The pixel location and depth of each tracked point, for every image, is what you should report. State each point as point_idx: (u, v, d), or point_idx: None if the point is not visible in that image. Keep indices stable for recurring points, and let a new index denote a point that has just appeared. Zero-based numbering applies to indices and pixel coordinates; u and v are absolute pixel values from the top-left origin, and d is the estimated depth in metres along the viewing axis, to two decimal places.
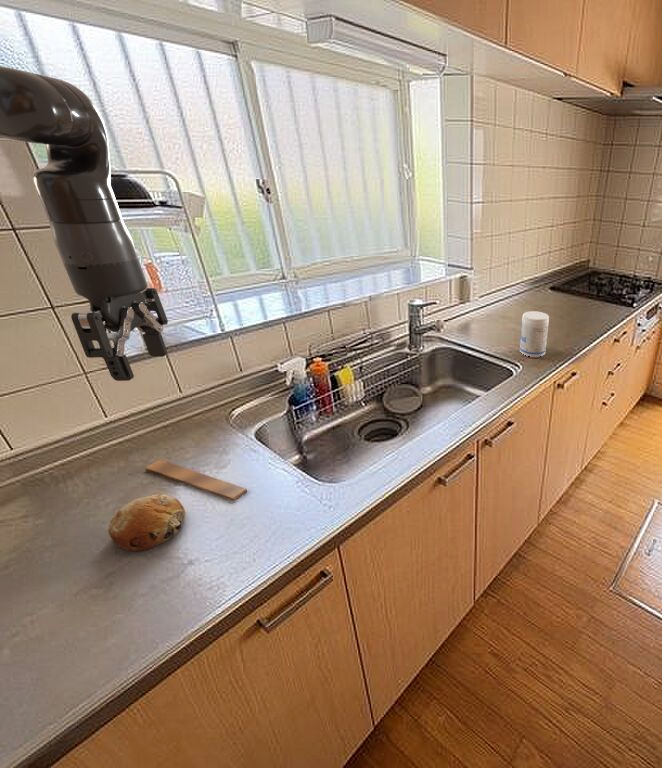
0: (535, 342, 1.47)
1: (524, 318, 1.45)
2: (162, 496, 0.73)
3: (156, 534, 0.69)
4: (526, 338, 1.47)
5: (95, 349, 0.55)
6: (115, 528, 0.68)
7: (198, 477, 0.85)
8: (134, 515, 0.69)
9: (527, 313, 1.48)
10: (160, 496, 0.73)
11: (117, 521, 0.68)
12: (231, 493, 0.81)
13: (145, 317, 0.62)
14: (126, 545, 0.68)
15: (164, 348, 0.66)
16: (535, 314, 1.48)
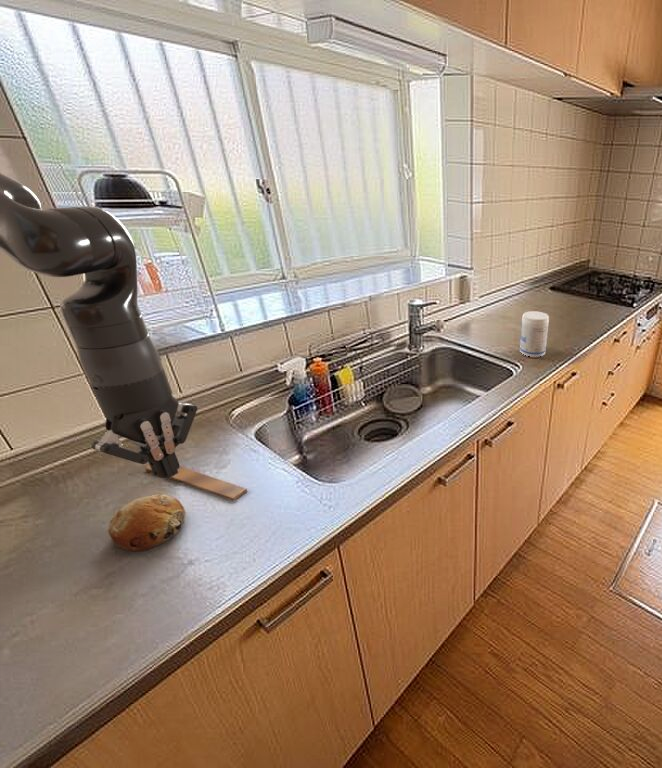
0: (535, 342, 1.47)
1: (524, 318, 1.45)
2: (162, 496, 0.73)
3: (156, 534, 0.69)
4: (526, 338, 1.47)
5: None
6: (115, 528, 0.68)
7: (198, 477, 0.85)
8: (134, 514, 0.69)
9: (527, 313, 1.48)
10: (160, 496, 0.73)
11: (117, 521, 0.68)
12: (231, 493, 0.81)
13: (161, 429, 0.59)
14: (126, 545, 0.68)
15: (173, 469, 0.62)
16: (535, 314, 1.48)
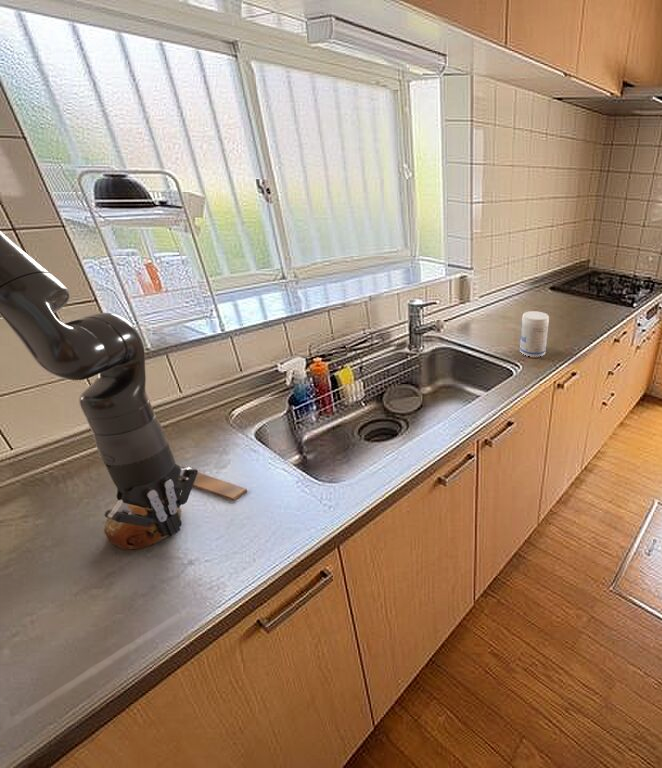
0: (535, 342, 1.47)
1: (524, 318, 1.45)
2: None
3: (152, 532, 0.69)
4: (526, 338, 1.47)
5: None
6: (111, 527, 0.68)
7: (198, 477, 0.85)
8: None
9: (527, 313, 1.48)
10: None
11: (113, 520, 0.68)
12: (231, 493, 0.81)
13: (165, 494, 0.67)
14: (123, 544, 0.68)
15: (176, 527, 0.70)
16: (535, 314, 1.48)
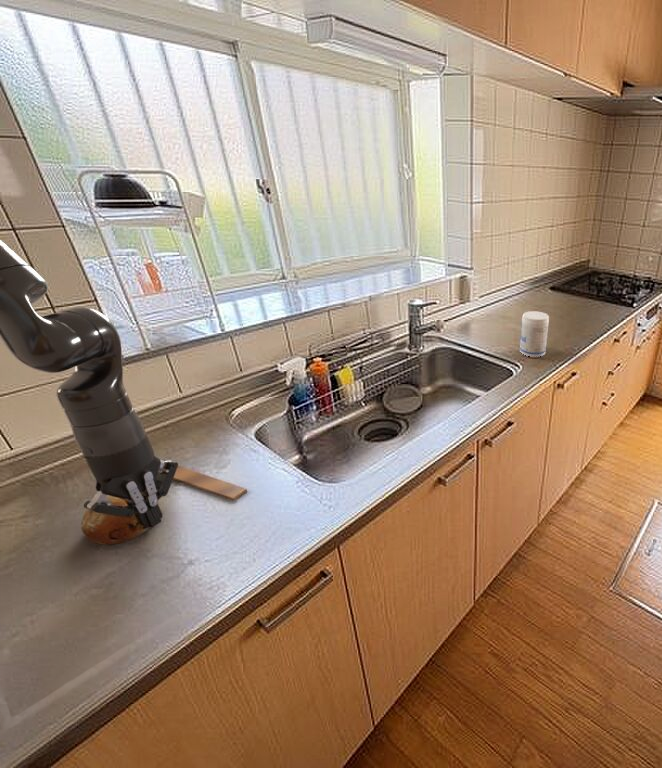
0: (535, 342, 1.47)
1: (524, 318, 1.45)
2: None
3: (135, 525, 0.70)
4: (526, 338, 1.47)
5: None
6: (90, 523, 0.69)
7: (198, 477, 0.85)
8: None
9: (527, 313, 1.48)
10: None
11: (91, 517, 0.69)
12: (231, 493, 0.81)
13: (145, 486, 0.68)
14: (104, 539, 0.69)
15: (156, 518, 0.71)
16: (535, 314, 1.48)
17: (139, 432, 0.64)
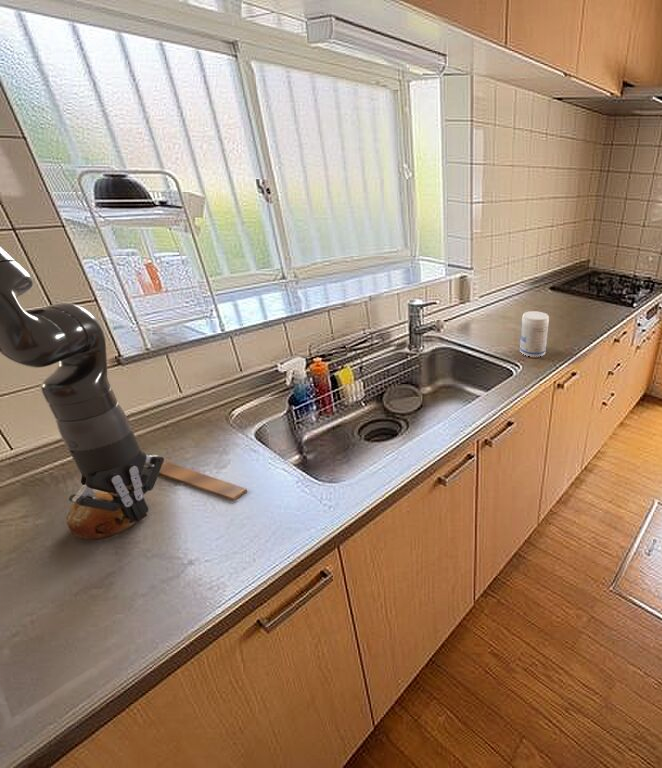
0: (535, 342, 1.47)
1: (524, 318, 1.45)
2: None
3: (122, 519, 0.71)
4: (526, 338, 1.47)
5: None
6: (76, 518, 0.69)
7: (198, 477, 0.85)
8: None
9: (527, 313, 1.48)
10: None
11: (77, 512, 0.70)
12: (231, 493, 0.81)
13: (130, 480, 0.69)
14: (91, 533, 0.70)
15: (142, 512, 0.72)
16: (535, 314, 1.48)
17: (124, 427, 0.65)
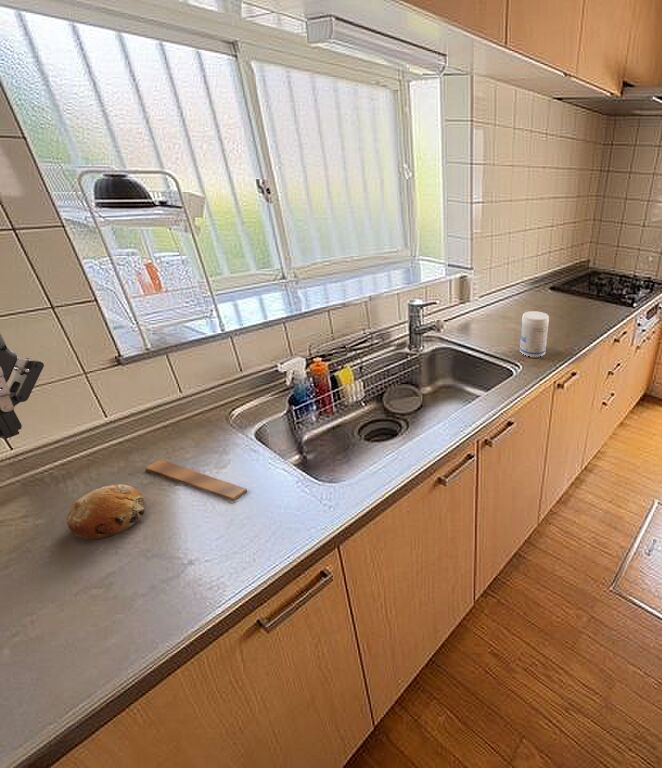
0: (535, 342, 1.47)
1: (524, 318, 1.45)
2: (119, 485, 0.75)
3: (122, 519, 0.71)
4: (526, 338, 1.47)
5: None
6: (76, 518, 0.69)
7: (198, 477, 0.85)
8: (95, 503, 0.70)
9: (527, 313, 1.48)
10: (117, 485, 0.75)
11: (77, 512, 0.70)
12: (231, 493, 0.81)
13: None
14: (91, 533, 0.70)
15: (12, 428, 0.58)
16: (535, 314, 1.48)
17: None
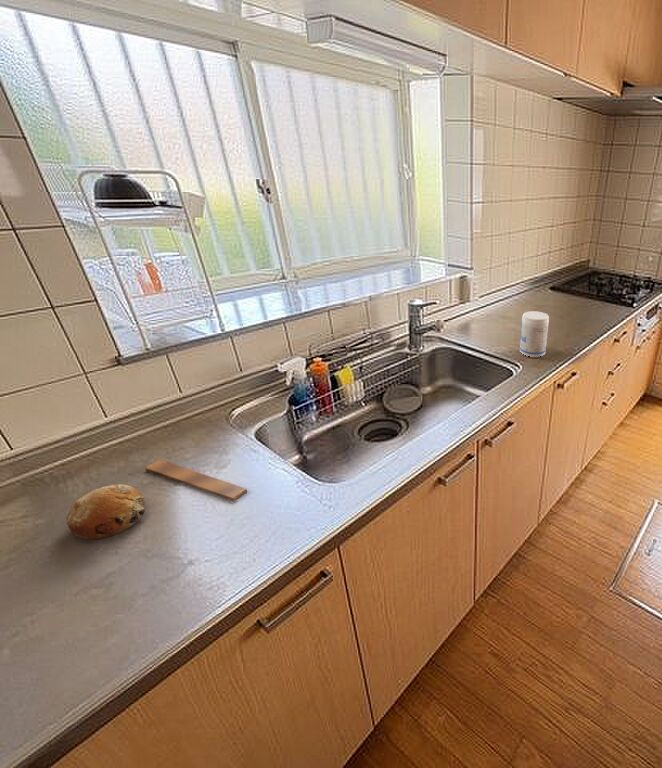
0: (535, 342, 1.47)
1: (524, 318, 1.45)
2: (119, 485, 0.75)
3: (122, 519, 0.71)
4: (526, 338, 1.47)
5: None
6: (76, 518, 0.69)
7: (198, 477, 0.85)
8: (95, 503, 0.70)
9: (527, 313, 1.48)
10: (117, 485, 0.75)
11: (77, 512, 0.70)
12: (231, 493, 0.81)
13: None
14: (91, 533, 0.70)
15: None
16: (535, 314, 1.48)
17: None
